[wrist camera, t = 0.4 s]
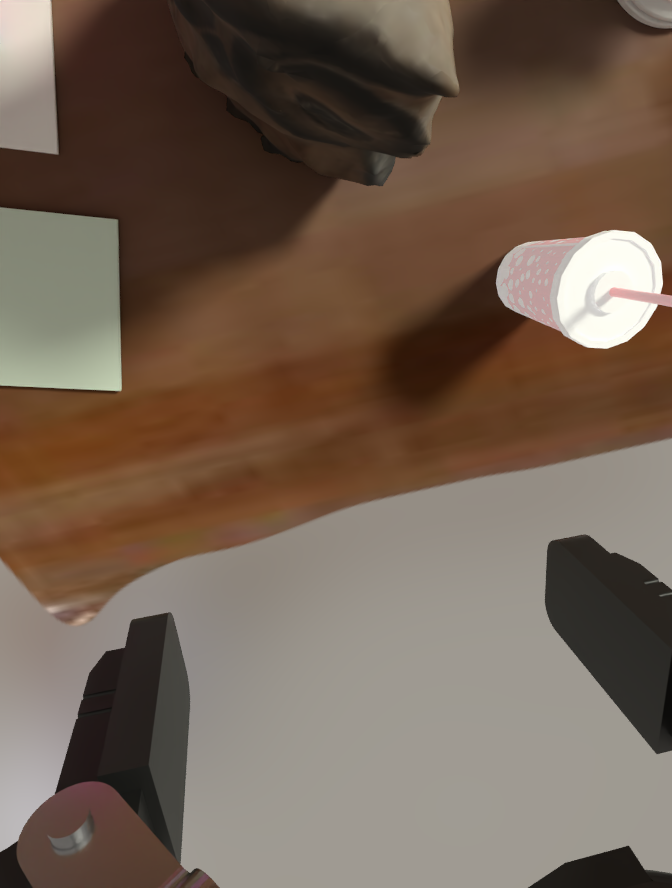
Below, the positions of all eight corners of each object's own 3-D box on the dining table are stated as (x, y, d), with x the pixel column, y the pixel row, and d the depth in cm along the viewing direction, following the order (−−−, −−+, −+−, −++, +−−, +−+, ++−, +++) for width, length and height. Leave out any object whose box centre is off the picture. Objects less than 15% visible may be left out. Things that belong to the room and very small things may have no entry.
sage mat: (-79, 199, 32) (-82, 198, 31) (118, 219, 34) (117, 219, 33) (-57, 381, 35) (-60, 382, 34) (121, 389, 37) (120, 390, 37)
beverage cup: (505, 340, 41) (639, 393, 28) (471, 259, 38) (600, 276, 25) (582, 295, 41) (752, 326, 28) (552, 211, 38) (723, 202, 25)
